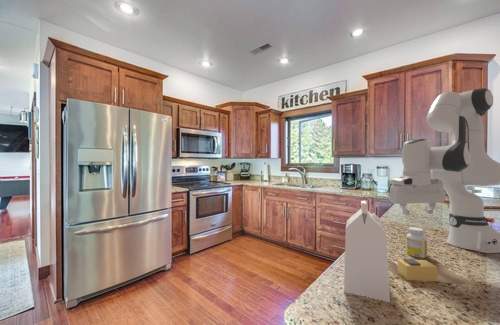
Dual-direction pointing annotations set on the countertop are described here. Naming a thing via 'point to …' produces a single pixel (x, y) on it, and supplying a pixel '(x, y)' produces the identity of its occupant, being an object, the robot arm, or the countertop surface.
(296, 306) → the countertop surface
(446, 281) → the board
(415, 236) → the pill bottle
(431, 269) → the yellow block
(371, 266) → the milk
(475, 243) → the robot arm
